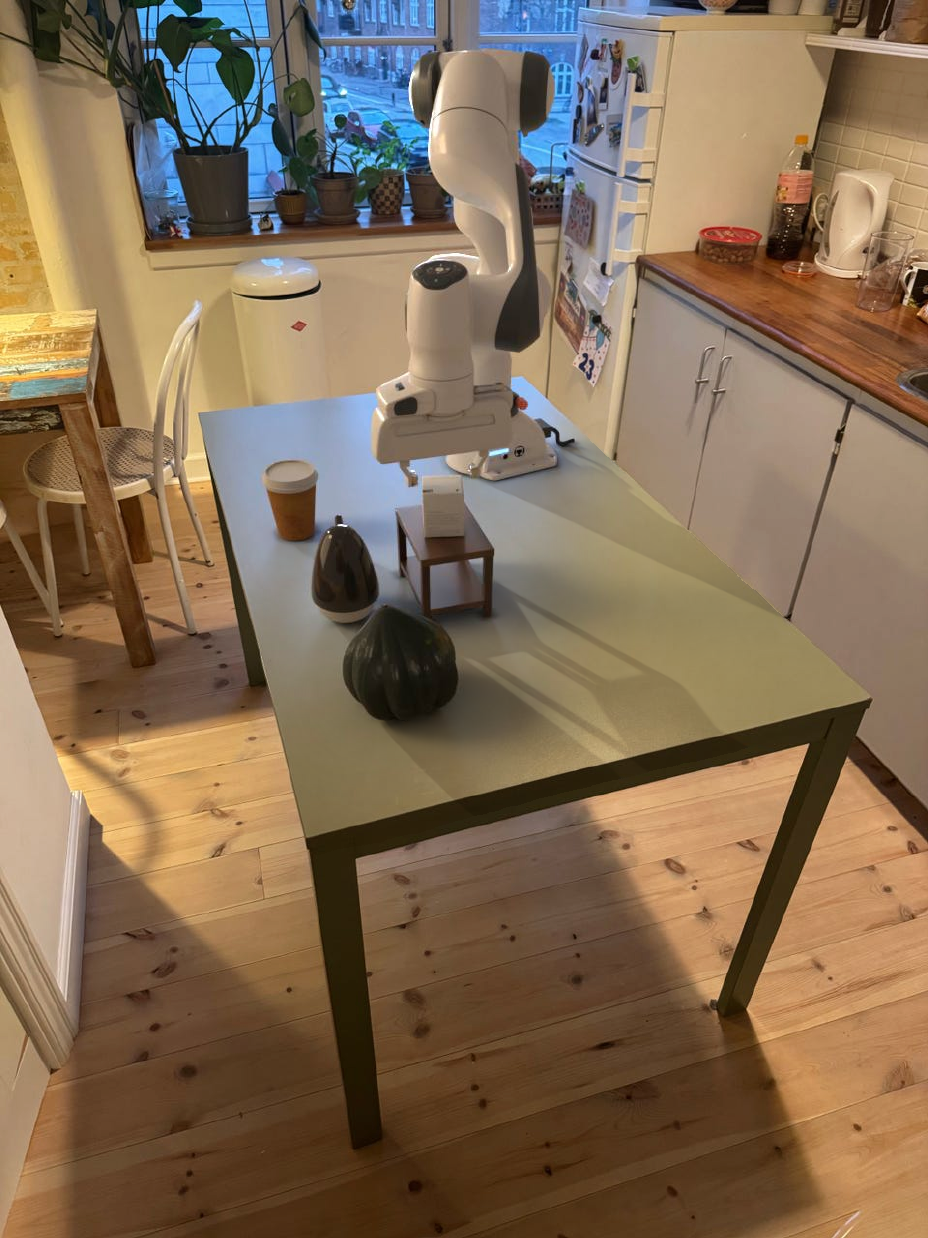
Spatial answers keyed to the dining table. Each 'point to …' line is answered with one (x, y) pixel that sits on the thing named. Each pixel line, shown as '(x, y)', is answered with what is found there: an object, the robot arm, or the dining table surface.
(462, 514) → the product carton
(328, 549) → the dark brown egg timer
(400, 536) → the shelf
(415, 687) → the squash
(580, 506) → the dining table surface
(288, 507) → the disposable coffee cup
